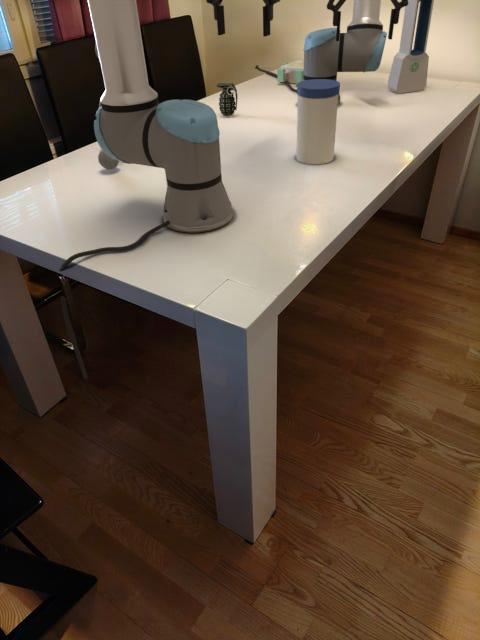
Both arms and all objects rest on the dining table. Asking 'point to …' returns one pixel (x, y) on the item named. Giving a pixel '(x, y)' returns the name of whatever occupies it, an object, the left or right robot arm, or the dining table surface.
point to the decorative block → (291, 72)
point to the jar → (316, 129)
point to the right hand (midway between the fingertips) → (363, 39)
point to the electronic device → (407, 62)
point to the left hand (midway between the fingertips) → (243, 35)
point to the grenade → (227, 99)
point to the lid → (318, 88)
